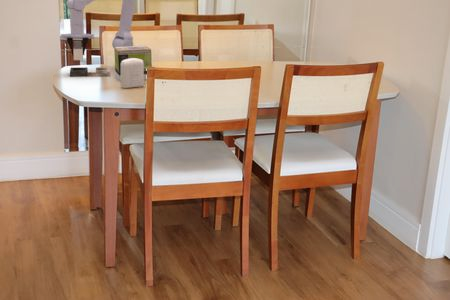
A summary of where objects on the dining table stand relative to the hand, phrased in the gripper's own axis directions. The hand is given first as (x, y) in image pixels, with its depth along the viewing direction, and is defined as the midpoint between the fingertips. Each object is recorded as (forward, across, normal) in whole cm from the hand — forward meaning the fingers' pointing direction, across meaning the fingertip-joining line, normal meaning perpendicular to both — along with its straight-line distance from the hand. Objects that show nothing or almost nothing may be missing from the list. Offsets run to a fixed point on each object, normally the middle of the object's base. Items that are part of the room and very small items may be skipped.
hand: (78, 54), depth 282 cm
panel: (+10, +5, 0) cm, 11 cm away
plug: (+2, 0, 0) cm, 2 cm away
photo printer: (+10, +23, -21) cm, 33 cm away
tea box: (+10, +24, -8) cm, 27 cm away
